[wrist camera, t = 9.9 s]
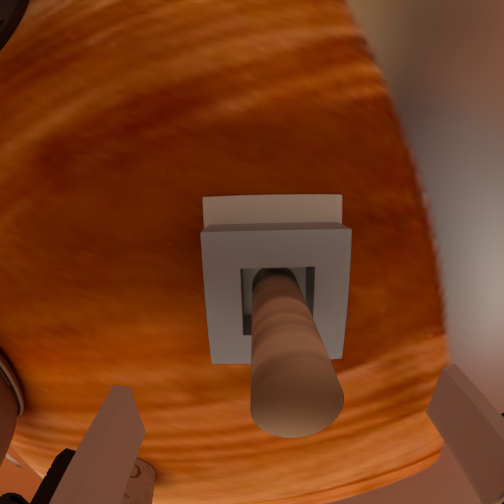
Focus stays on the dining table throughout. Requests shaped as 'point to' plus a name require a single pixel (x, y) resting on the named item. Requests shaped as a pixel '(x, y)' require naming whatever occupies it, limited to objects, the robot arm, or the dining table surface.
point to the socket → (273, 264)
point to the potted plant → (8, 405)
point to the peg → (289, 361)
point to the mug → (139, 484)
